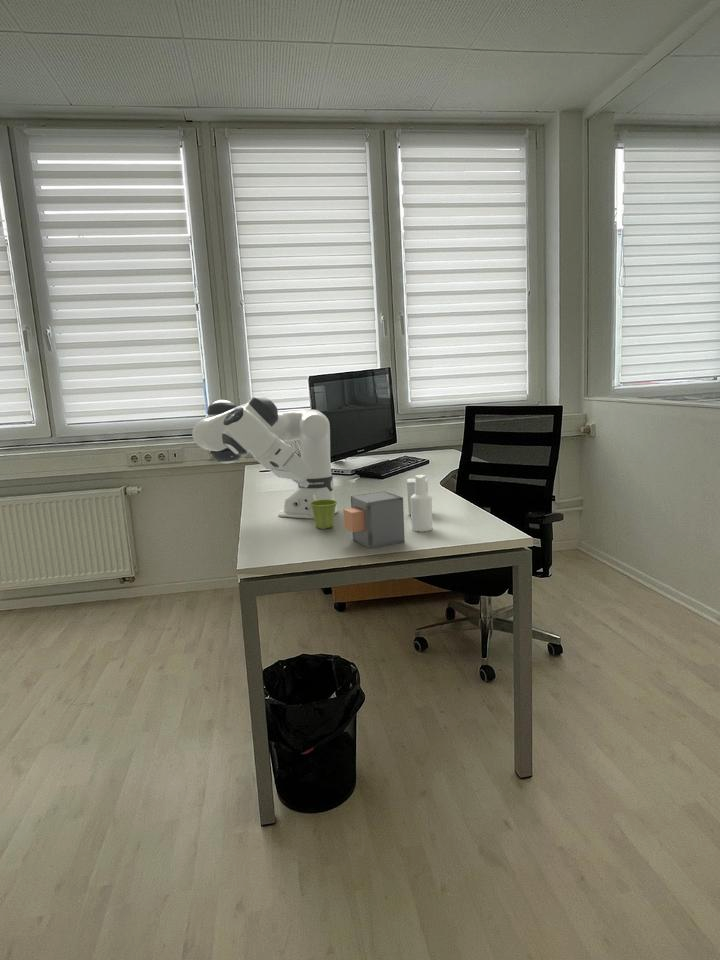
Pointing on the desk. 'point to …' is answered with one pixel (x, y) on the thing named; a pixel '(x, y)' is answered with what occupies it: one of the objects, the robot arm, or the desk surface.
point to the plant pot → (323, 513)
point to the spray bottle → (421, 506)
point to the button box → (380, 519)
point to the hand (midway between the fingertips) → (306, 485)
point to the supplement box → (411, 491)
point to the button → (354, 519)
